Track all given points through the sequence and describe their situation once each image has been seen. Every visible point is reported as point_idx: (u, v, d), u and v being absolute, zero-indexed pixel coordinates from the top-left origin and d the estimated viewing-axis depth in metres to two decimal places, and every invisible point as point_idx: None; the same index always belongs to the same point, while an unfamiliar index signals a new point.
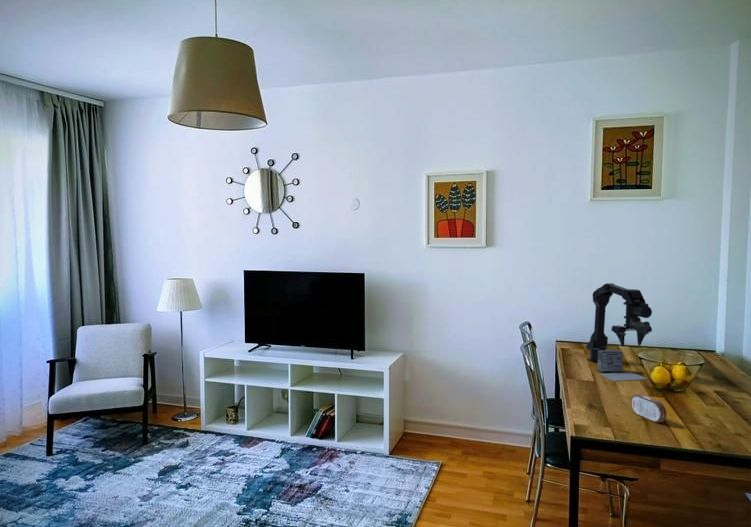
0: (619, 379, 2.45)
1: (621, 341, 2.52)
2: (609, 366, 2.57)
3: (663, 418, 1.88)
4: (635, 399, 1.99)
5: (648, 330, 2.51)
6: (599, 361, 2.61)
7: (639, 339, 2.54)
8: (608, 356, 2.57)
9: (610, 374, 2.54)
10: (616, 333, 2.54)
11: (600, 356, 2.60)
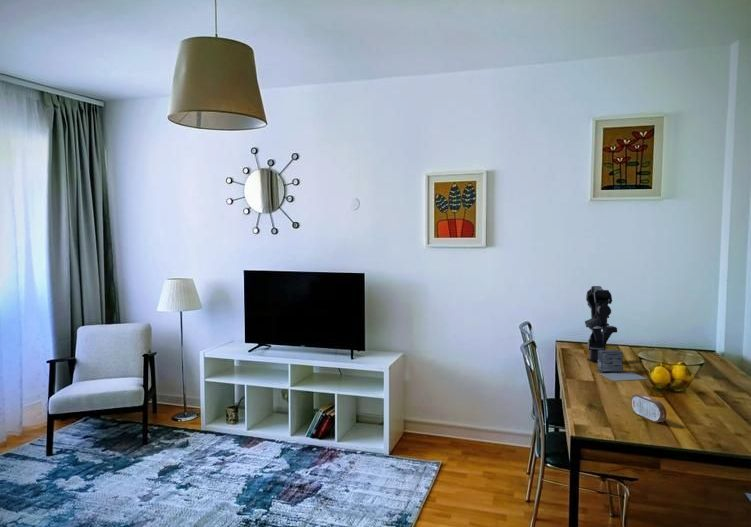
0: (619, 379, 2.45)
1: None
2: (609, 367, 2.57)
3: (662, 418, 1.88)
4: (635, 399, 1.99)
5: (604, 330, 2.60)
6: (599, 361, 2.61)
7: None
8: (608, 356, 2.57)
9: (610, 374, 2.54)
10: None
11: (600, 356, 2.59)
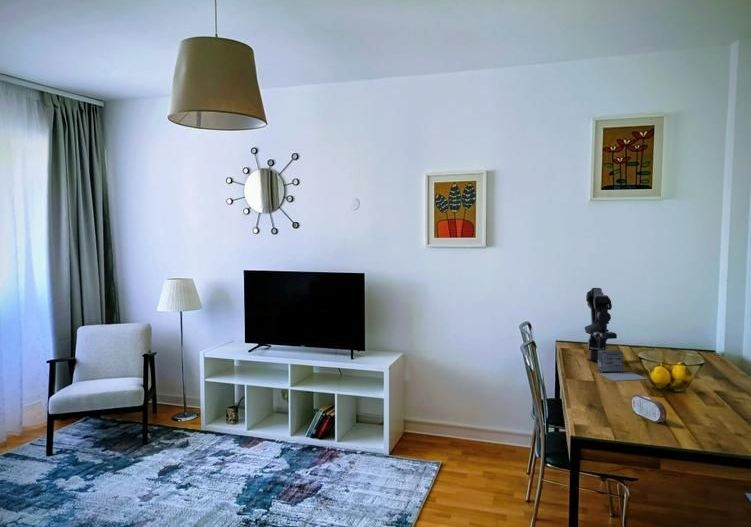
0: (619, 379, 2.45)
1: None
2: (609, 367, 2.57)
3: (662, 418, 1.88)
4: (635, 399, 1.99)
5: (603, 336, 2.60)
6: (599, 361, 2.61)
7: None
8: (608, 356, 2.57)
9: (610, 374, 2.54)
10: None
11: (600, 356, 2.59)
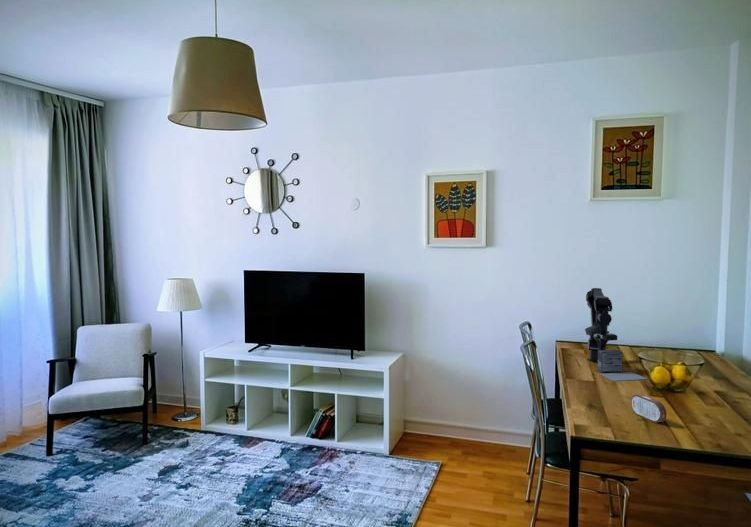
0: (619, 379, 2.45)
1: None
2: (609, 367, 2.57)
3: (663, 418, 1.88)
4: (635, 399, 1.99)
5: (604, 338, 2.60)
6: (599, 361, 2.61)
7: None
8: (608, 356, 2.57)
9: (610, 374, 2.54)
10: None
11: (600, 356, 2.59)
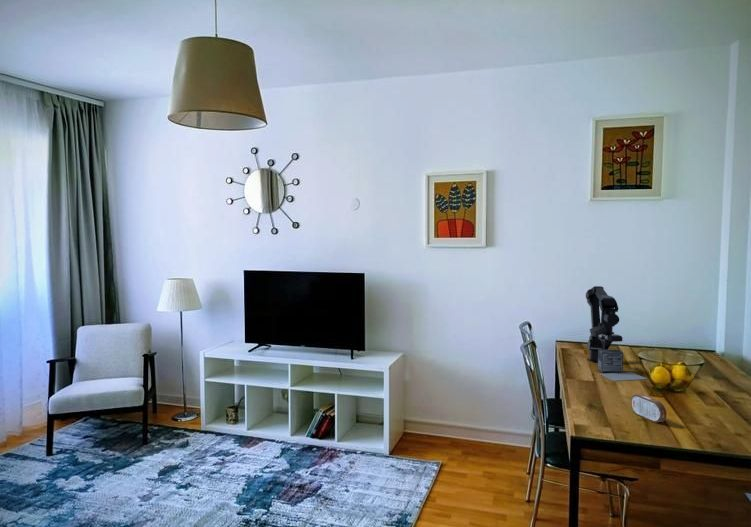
0: (619, 379, 2.45)
1: None
2: (609, 367, 2.57)
3: (663, 418, 1.88)
4: (635, 399, 1.99)
5: (609, 339, 2.56)
6: (599, 361, 2.60)
7: None
8: (609, 357, 2.57)
9: (610, 374, 2.54)
10: None
11: (600, 356, 2.59)
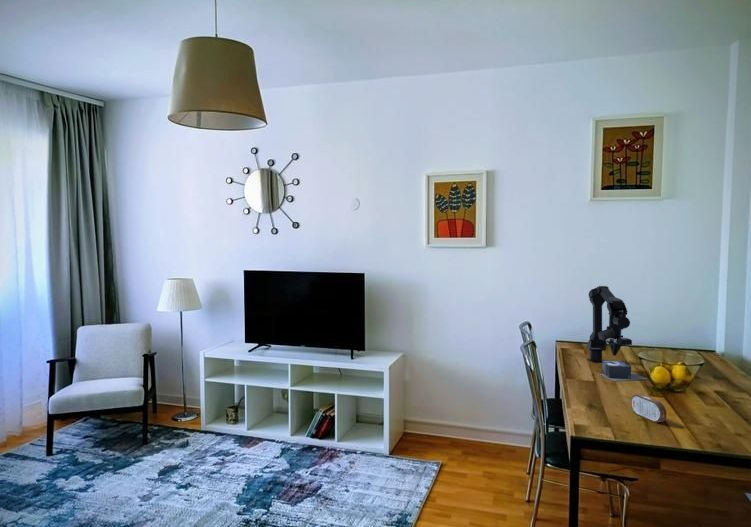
0: (619, 379, 2.45)
1: None
2: None
3: (663, 418, 1.88)
4: (635, 399, 1.99)
5: (618, 342, 2.49)
6: (605, 368, 2.53)
7: None
8: None
9: None
10: None
11: (607, 372, 2.50)
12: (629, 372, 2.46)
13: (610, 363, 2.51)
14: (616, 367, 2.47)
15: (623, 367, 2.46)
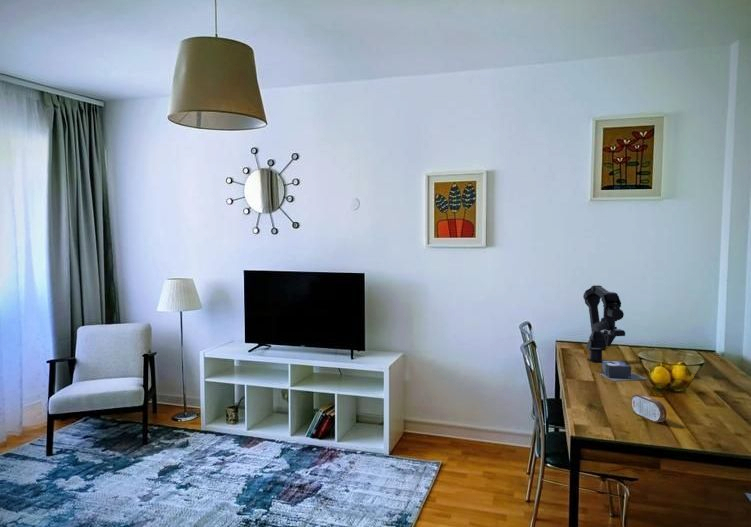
0: (619, 379, 2.45)
1: None
2: None
3: (663, 418, 1.88)
4: (635, 399, 1.99)
5: (612, 333, 2.57)
6: (605, 368, 2.53)
7: None
8: None
9: None
10: None
11: (607, 372, 2.50)
12: (629, 372, 2.46)
13: (610, 363, 2.51)
14: (616, 367, 2.47)
15: (623, 367, 2.46)
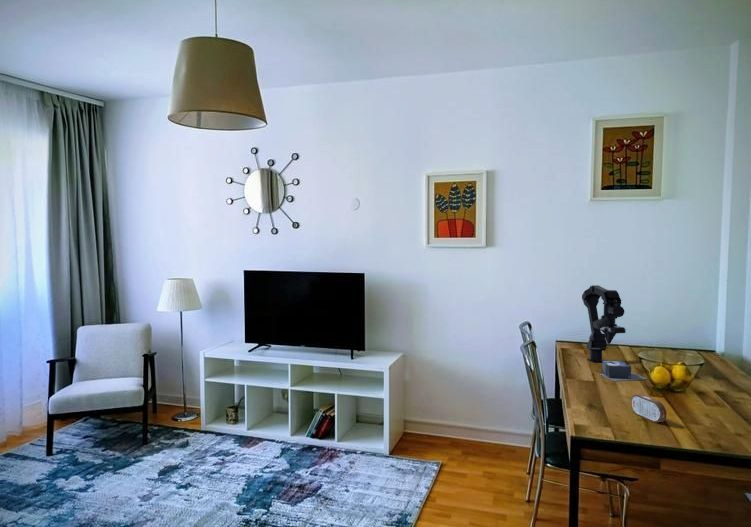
0: (619, 379, 2.45)
1: None
2: None
3: (663, 418, 1.88)
4: (635, 399, 1.99)
5: (612, 331, 2.58)
6: (605, 368, 2.53)
7: None
8: None
9: None
10: None
11: (607, 372, 2.50)
12: (629, 372, 2.46)
13: (610, 363, 2.51)
14: (616, 367, 2.47)
15: (623, 367, 2.46)
